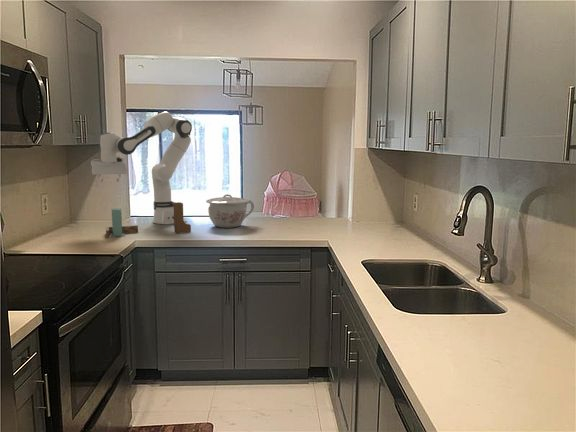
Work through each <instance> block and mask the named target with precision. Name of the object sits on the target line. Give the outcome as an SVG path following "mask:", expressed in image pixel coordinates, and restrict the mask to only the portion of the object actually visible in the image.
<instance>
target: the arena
mask: <svg viewBox="0 0 576 432" xmlns="http://www.w3.org/2000/svg"><path fill="white" fill-rule="evenodd" d="M138 232H139V225H122V233H124V234H131V233H132V234H134V233H138ZM105 234H106V239H109V238H111V237H110V234H113V229H112V226H105Z"/></svg>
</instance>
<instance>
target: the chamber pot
mask: <svg viewBox="0 0 576 432" xmlns="http://www.w3.org/2000/svg"><path fill="white" fill-rule="evenodd" d="M232 196H233V195H231V194H224V195H223V196H222V197H214V198H209V199H207V200H205V202H206V203H208V204H209V206H208V209H207V210H208V211H207V212H208V216H209V219H210V221H211V223H212V225H214V226H215V227H218V228H219V229H220V228H221V229H233V228H237V227H240V226H241V225H242V224H243V222H244V221H245V220H246V218H247V217H249V216H250V214H252V213H253V211H254V209H255V204H254V201H252V200H251V199H246V198H243V197H242V198H241V197H235V196H233V197H232ZM248 204H250V205H251V207H250V210H249V211H247V210H248V209H247V205H248Z"/></svg>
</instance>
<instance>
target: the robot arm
mask: <svg viewBox="0 0 576 432" xmlns="http://www.w3.org/2000/svg"><path fill="white" fill-rule="evenodd" d="M192 128H193V125H192V123H191V121H189V120H188V119H185V118H183V117H180V116H173V115H172V114H171V112H168V111H162V112H160V113H156V115H154V116H151V117H150V118H148V120H146V121H145V122H144V124H143V128H142V129H141V130H139V131H138V132H137V133H135V134H134V135H132V136H130V137H129V136H128V137H122V136H120V135H118V134H116V133H115V132H112V131H111V132H104V133H102V134H101V135H100V142H99V144H100V149H101V150H100V151H101V152H100V158H98V159H96V158H94V159H92V160H90V166H91V175H96V176H97V175H98V176H97V177H98V178H99V180H100V183H103V182H104V179H103V178H102V176H101V175H118V178H116V182H120V178H121V176H122V175H126V174H127V172H128V171H127V166H126V163H125V159H124V158H122V157H120V156H117V153H118V154H122V155H132V154H133V153H135V150H136V149H137V148H138V146H139V145H142V143H144V142H145V141H147V140H149V139H151V138H153V137H156V136H158V135H160V134H162V133H163V132H164V131H166V130H168V131H169V132H171V133H173V134H174V138H173V140H172V141H171V142H170V144H169V145H168V147H167V149H166V150H165V151H164V153H163V156H162V157H161V160H160V161H159V163H156V164H155V165H154V166H152V169H151V178H152V184H153V185H152V186H153V200H154V201H153V218H152V223H153V224H159V225H161V224H162V225H172V224H173V225H174V203H176V201H172V189H171V184H170V179H172V177H173V174H174V173H175V171H176V169H177V167H178V164H179V163H180V161H181V160H182V158H183V157H184V155H185V154H186V152H187V151H188V148H189V147H190V144H191V141H192V139H191V133H192ZM183 220H184V223H187V222H188V219H186V218H184V217H183Z"/></svg>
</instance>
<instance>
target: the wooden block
mask: <svg viewBox="0 0 576 432" xmlns="http://www.w3.org/2000/svg"><path fill="white" fill-rule="evenodd" d="M183 218H184V203H183V202H182V201H181V202H180V201H179V202H175V203H174V224H173V227H174V229H173V230H174V233H176V234H183V233H184V234H185V233H191V232H192V227H191V226H192V225H191V224H190V223H187V222H185V223H184V220H183Z"/></svg>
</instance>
